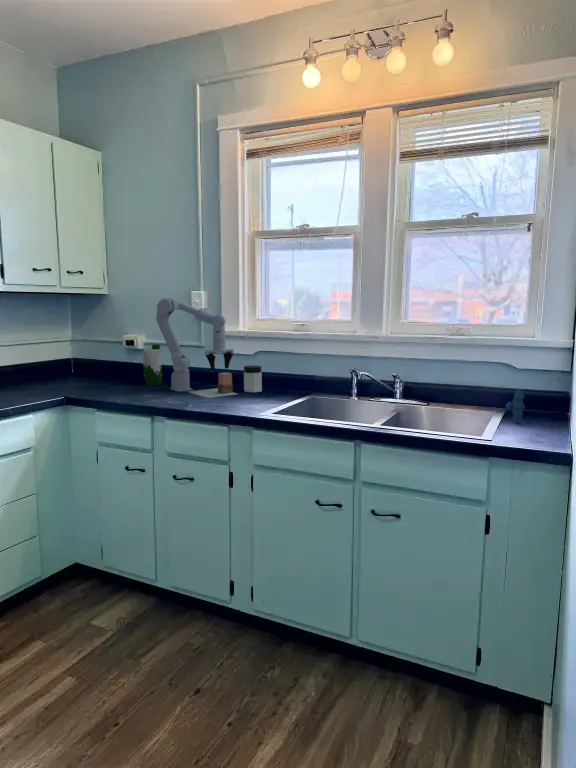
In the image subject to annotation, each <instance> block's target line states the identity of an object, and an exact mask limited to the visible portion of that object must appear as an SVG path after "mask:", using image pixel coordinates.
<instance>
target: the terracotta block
mask: <svg viewBox="0 0 576 768" xmlns="http://www.w3.org/2000/svg"><path fill="white" fill-rule="evenodd" d="M217 376H218V384H221V385H230V384H233V373H231V372H219V373H218V375H217Z"/></svg>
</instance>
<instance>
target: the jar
mask: <svg viewBox="0 0 576 768" xmlns="http://www.w3.org/2000/svg"><path fill="white" fill-rule="evenodd" d="M262 376H263V375H262V365H254V364H253V365H251V364H250V365H245V366H243V390H244V392H245V393H258V392H260V393H261V392H262V391H263V385H262V383H263V382H262V381H263V380H262V379H263V377H262Z"/></svg>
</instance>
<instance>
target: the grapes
mask: <svg viewBox="0 0 576 768" xmlns="http://www.w3.org/2000/svg"><path fill="white" fill-rule="evenodd" d="M524 398H525V392H524V391H523V390H522V389H521V388H519V389H516V390H515V391H514V393H513V399H512V401H508V402H507V403H506V404H505V408H506V409H507V411H511V413H512V415H513V416H512V421H513V423H515V424H516V425H518V424H520V423H521V422H522V421H523V417H522V416H523V413H524V412H523V411H524V410H525V409H526V406H525V404H524V402H523V400H524Z"/></svg>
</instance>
